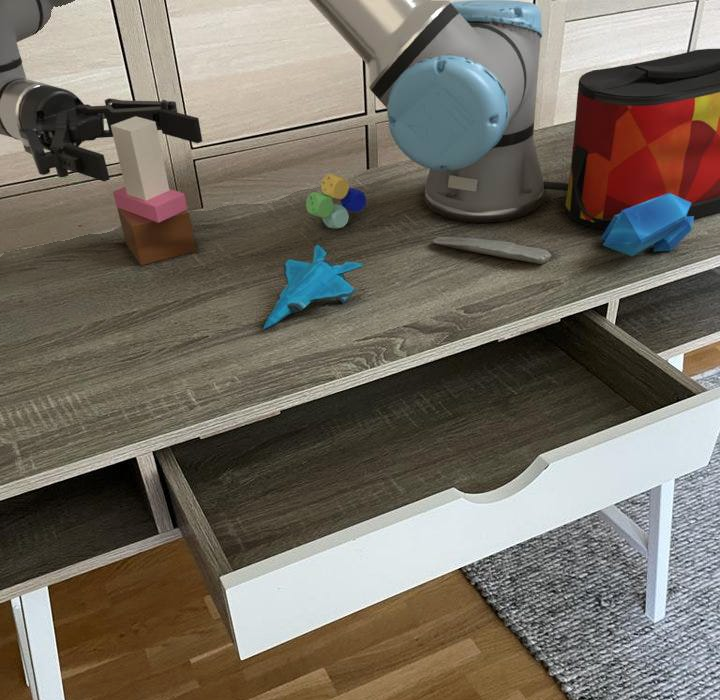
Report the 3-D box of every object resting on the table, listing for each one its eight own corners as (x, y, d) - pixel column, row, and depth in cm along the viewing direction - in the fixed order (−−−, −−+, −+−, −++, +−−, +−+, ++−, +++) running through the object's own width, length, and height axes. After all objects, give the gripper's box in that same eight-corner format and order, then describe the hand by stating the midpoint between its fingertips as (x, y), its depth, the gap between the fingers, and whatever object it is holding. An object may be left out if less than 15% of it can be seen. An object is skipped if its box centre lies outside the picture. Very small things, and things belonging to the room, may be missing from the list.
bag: (719, 159, 118) (748, 27, 108) (796, 193, 109) (836, 52, 98) (532, 204, 110) (543, 66, 99) (597, 246, 100) (617, 98, 90)
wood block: (179, 230, 111) (171, 192, 107) (196, 251, 106) (188, 212, 102) (126, 243, 108) (116, 205, 105) (141, 265, 104) (131, 226, 100)
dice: (356, 211, 112) (353, 162, 108) (369, 217, 110) (366, 167, 106) (306, 230, 109) (300, 179, 104) (318, 236, 107) (313, 186, 103)
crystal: (719, 244, 96) (624, 289, 95) (673, 229, 103) (585, 271, 103) (709, 179, 92) (610, 226, 91) (662, 169, 99) (571, 212, 99)
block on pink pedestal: (187, 209, 103) (171, 123, 97) (158, 223, 101) (139, 135, 94) (145, 195, 107) (127, 111, 101) (116, 207, 105) (95, 123, 98)
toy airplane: (291, 277, 99) (286, 243, 96) (374, 280, 97) (371, 245, 95) (262, 330, 91) (256, 295, 88) (353, 334, 89) (350, 298, 86)
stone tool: (558, 245, 99) (544, 256, 95) (556, 257, 100) (542, 269, 96) (446, 229, 105) (428, 238, 101) (445, 240, 106) (427, 250, 102)
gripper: (131, 118, 118) (237, 148, 107) (-34, 179, 104) (69, 219, 93) (118, 59, 113) (228, 83, 102) (-57, 114, 99) (49, 149, 88)
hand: (153, 148), depth 97 cm, fingers open, 13 cm apart
